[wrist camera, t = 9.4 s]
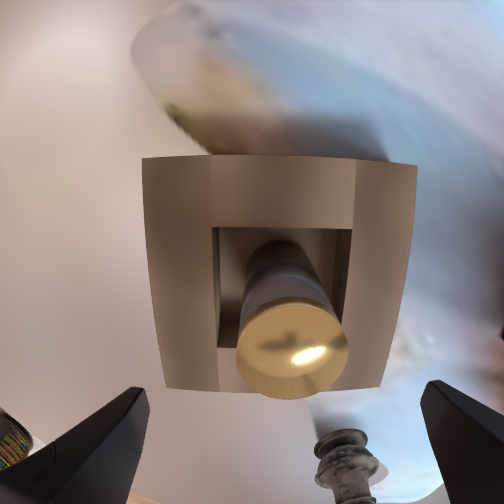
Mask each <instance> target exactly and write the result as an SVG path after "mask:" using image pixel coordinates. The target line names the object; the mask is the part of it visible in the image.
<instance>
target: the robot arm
mask: <svg viewBox="0 0 504 504" xmlns="http://www.w3.org/2000/svg"><path fill="white" fill-rule="evenodd" d="M503 341H504V336H503ZM420 406H421V410H422V413H423V417H424V421H425V425H426V429H427V433H428V437H429V440H430V443H431V446H432V449H433V452H434V455H435V458H436V460H437V463H438V466H439V469H440V472H441V475H442V478H443V481H444V484H445V487H446V490H447V493H448V497H449V500H450V503H451V504H504V416H503V415H502V414H500V413H498V412H496V411H494V410H493V409H491V408H489V407H487V406H485V405H484V404H482V403H480V402H478V401H476V400H475V399H473V398H471V397H469V396H467V395H466V394H464V393H462V392H460V391H459V390H457V389H455V388H453V387H452V386H450V385H448V384H446V383H445V382H443V381H441V380H433V381H429V382H428V383H427V385H426V387H425V390H424V392H423V395H422V397H421V401H420ZM149 413H150V407H149V403H148V399H147V395H146V392H145V390H144V389H143V388H140V387H130V388H129V389H127V390H126V391H125V392H123V393H122V394H120V395H119V396H117V397H116V398H115V399H113V400H112V401H110V402H109V403H108V404H106V405H105V406H103V407H102V408H101V409H99V410H98V411H96V412H95V413H93V414H92V415H91V416H89V417H88V418H86V419H85V420H83V421H82V422H80V423H79V424H78V425H76V426H75V427H73V428H72V429H70V430H69V431H67V432H66V433H64V434H63V435H62V436H60V437H59V438H57V439H56V440H55V441H53V442H51V443H50V444H48V445H47V446H45V447H43V448H42V449H40V450H39V451H37V452H35V453H34V454H32V455H30V456H28V457H26V458H25V459H23V460H21V461H19V462H17V463H15V464H13V465H11V466H9V467H6V468H4V469H2V470H0V504H126V501H127V498H128V495H129V492H130V488H131V485H132V482H133V479H134V475H135V473H136V469H137V466H138V463H139V460H140V457H141V453H142V449H143V444H144V438H145V433H146V428H147V423H148V418H149Z"/></svg>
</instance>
